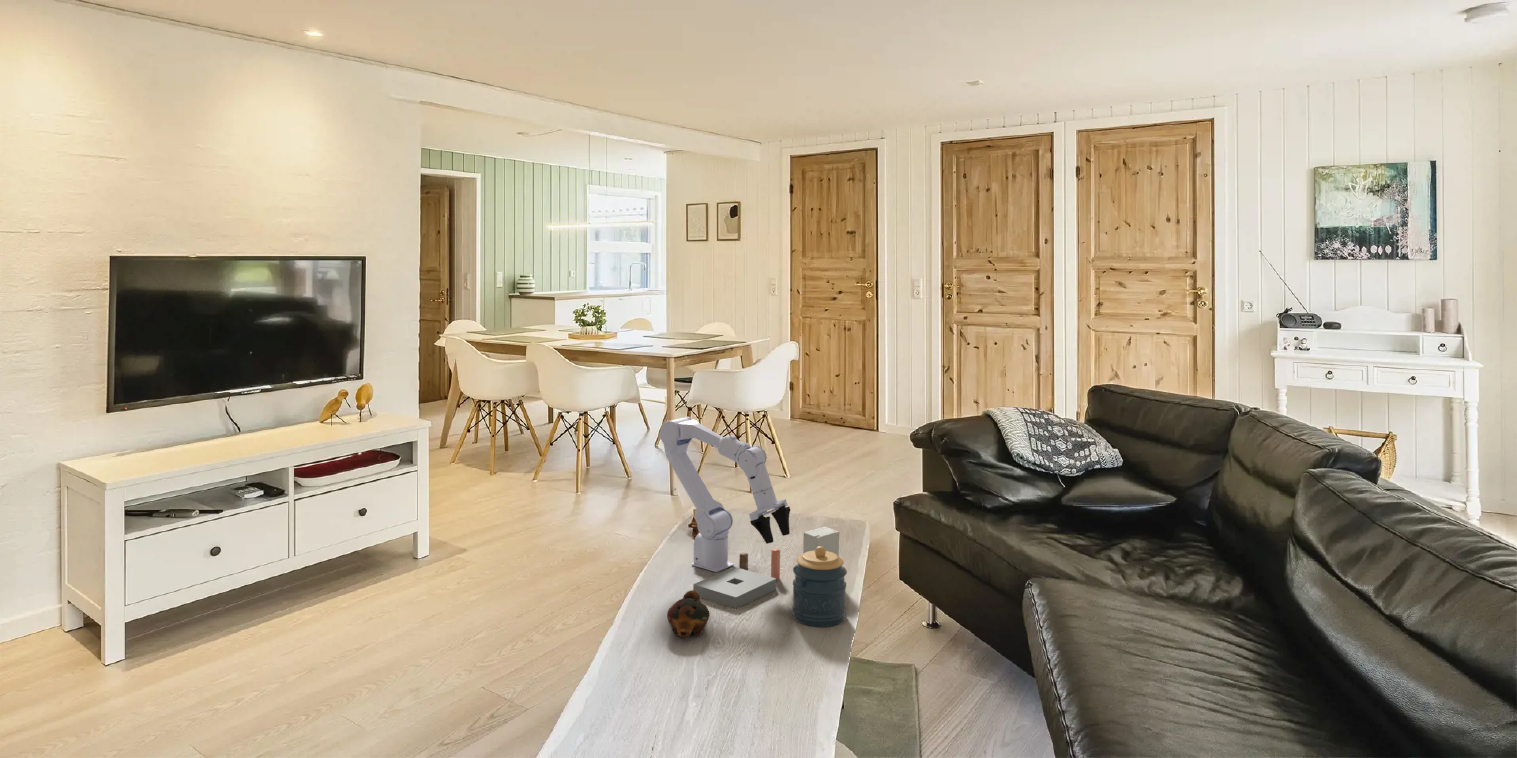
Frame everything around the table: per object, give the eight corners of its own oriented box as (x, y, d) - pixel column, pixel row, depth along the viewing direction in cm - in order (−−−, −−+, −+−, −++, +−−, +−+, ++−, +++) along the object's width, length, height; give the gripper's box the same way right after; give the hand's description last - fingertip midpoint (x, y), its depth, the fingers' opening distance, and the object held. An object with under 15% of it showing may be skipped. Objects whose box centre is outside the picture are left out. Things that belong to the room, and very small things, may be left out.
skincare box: (823, 578, 232) (825, 525, 230) (839, 584, 227) (840, 530, 225) (801, 584, 226) (802, 530, 225) (816, 591, 222) (817, 536, 220)
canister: (812, 602, 214) (814, 535, 212) (855, 616, 206) (858, 545, 204) (781, 618, 204) (782, 547, 202) (825, 632, 196) (827, 559, 194)
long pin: (769, 578, 231) (769, 550, 230) (774, 576, 232) (774, 548, 231) (776, 580, 229) (776, 552, 228) (781, 578, 231) (781, 550, 230)
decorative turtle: (709, 618, 203) (711, 587, 202) (707, 650, 188) (709, 616, 187) (668, 616, 203) (670, 585, 201) (663, 647, 188) (665, 614, 187)
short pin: (737, 569, 237) (737, 554, 237) (742, 567, 239) (743, 552, 238) (744, 571, 236) (744, 556, 235) (749, 569, 238) (749, 554, 237)
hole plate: (693, 595, 218) (693, 584, 217) (734, 577, 231) (734, 566, 231) (735, 609, 209) (735, 597, 209) (776, 589, 223) (776, 578, 222)
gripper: (757, 493, 221) (773, 543, 220) (789, 481, 233) (804, 528, 232) (737, 499, 225) (753, 548, 224) (769, 486, 237) (785, 533, 236)
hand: (778, 538), depth 228 cm, fingers open, 7 cm apart
